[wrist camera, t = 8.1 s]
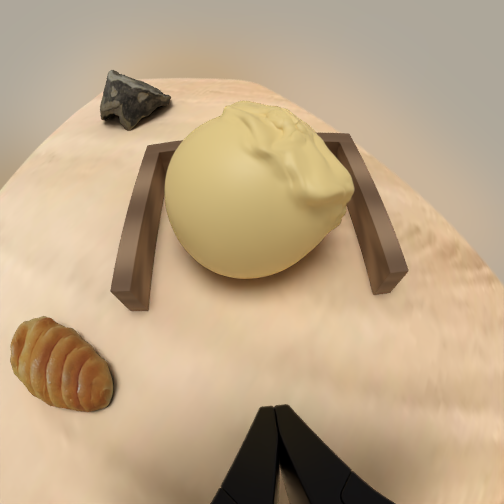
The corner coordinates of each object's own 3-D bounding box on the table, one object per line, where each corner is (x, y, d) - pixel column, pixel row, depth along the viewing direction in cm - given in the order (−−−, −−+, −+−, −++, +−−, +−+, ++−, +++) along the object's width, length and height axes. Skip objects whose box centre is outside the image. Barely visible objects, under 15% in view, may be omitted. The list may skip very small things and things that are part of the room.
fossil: (189, 95, 37) (157, 55, 27) (157, 147, 37) (115, 113, 27) (141, 88, 40) (108, 55, 30) (113, 132, 40) (73, 105, 30)
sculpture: (351, 258, 22) (397, 152, 13) (210, 321, 20) (166, 228, 11) (283, 169, 28) (289, 70, 19) (167, 210, 25) (133, 109, 16)
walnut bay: (389, 292, 20) (408, 270, 17) (130, 310, 20) (110, 291, 17) (343, 159, 29) (349, 133, 26) (156, 170, 28) (147, 145, 25)
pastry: (130, 352, 19) (105, 338, 15) (107, 434, 15) (79, 435, 12) (47, 318, 20) (21, 300, 17) (26, 385, 16) (-4, 375, 13)
